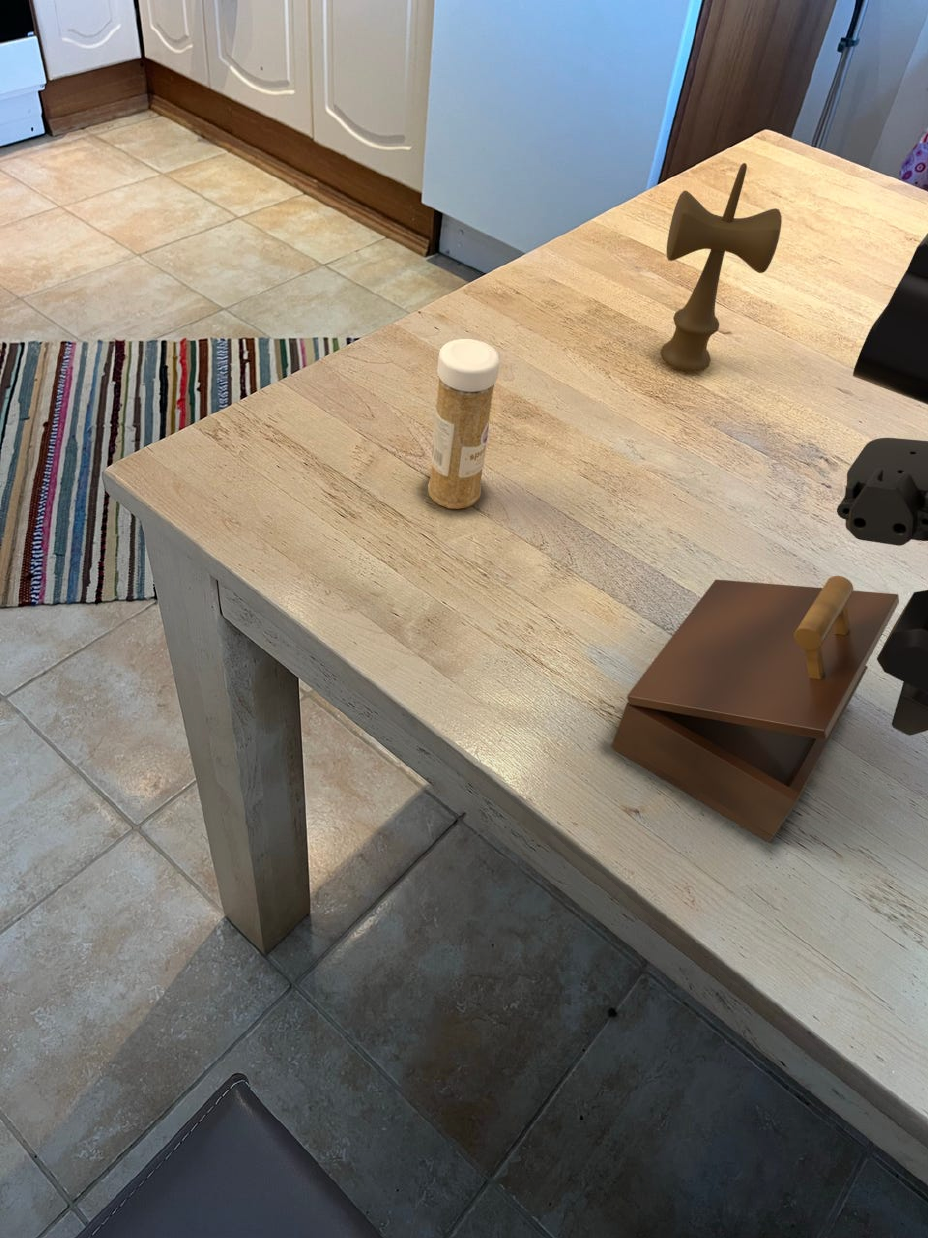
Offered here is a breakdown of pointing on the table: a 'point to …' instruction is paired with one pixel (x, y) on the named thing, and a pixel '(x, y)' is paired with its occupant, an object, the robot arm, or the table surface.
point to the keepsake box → (724, 762)
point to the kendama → (713, 266)
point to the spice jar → (461, 421)
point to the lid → (768, 655)
